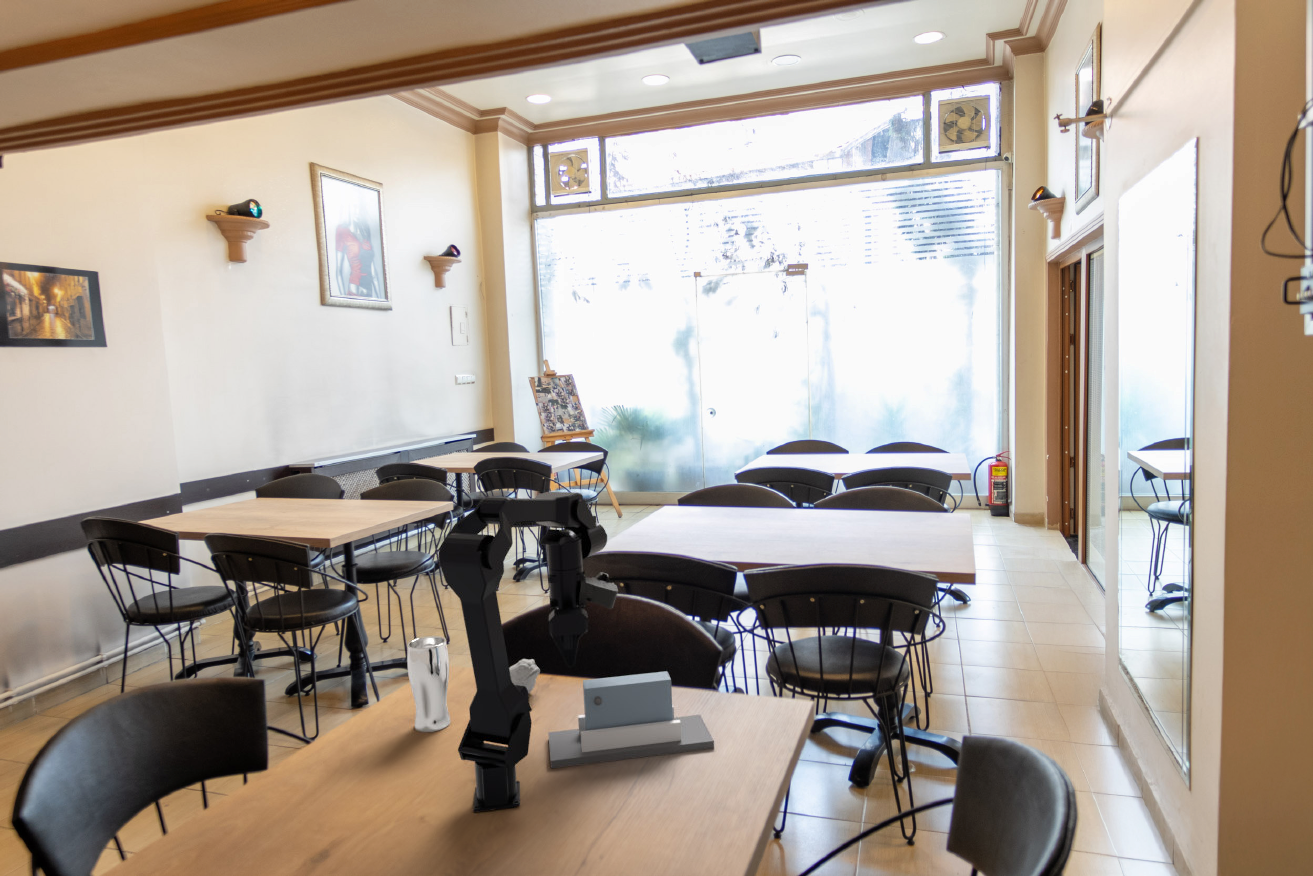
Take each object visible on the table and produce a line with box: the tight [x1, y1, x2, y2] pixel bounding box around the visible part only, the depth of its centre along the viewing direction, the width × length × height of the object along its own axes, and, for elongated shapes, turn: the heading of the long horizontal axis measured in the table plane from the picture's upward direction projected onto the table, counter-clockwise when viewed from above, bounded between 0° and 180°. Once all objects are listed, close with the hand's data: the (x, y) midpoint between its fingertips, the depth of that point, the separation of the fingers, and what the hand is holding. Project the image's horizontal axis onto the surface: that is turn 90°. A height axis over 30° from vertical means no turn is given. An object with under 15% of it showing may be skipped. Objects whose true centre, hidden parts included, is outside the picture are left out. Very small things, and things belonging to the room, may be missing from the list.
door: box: [582, 670, 673, 731], centre depth 130 cm, size 4×14×10 cm, turn 100°
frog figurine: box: [509, 658, 541, 694], centre depth 153 cm, size 6×7×7 cm
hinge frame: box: [548, 704, 715, 769], centre depth 131 cm, size 10×26×4 cm, turn 100°
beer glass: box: [406, 635, 451, 733], centre depth 141 cm, size 7×7×15 cm
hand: (570, 656), depth 136 cm, fingers open, 9 cm apart
